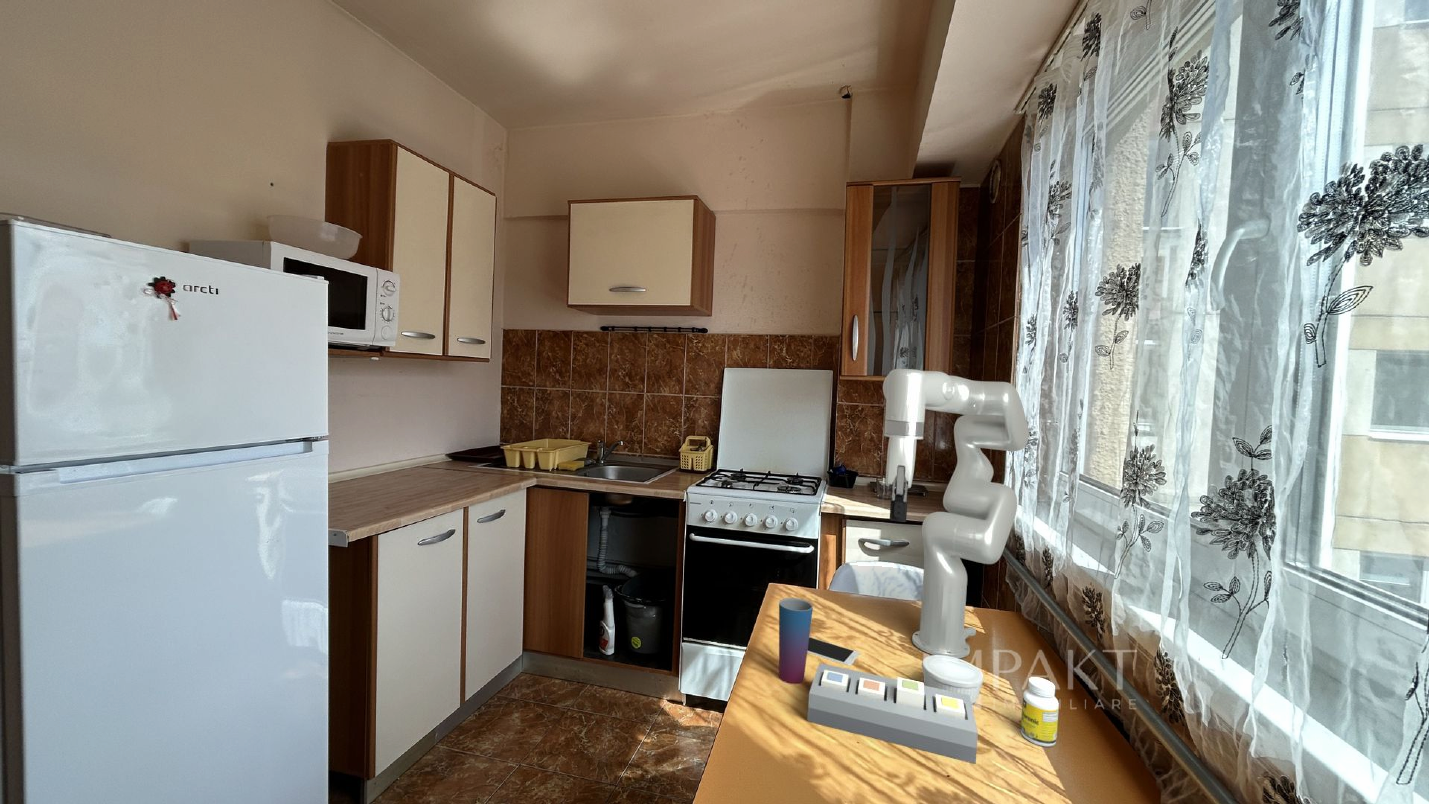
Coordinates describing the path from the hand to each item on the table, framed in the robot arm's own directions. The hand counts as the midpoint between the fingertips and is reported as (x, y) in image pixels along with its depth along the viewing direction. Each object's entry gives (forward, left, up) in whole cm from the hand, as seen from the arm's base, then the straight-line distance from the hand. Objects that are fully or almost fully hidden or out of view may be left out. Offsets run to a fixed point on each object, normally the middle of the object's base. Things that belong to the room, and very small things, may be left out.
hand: (897, 520), depth 112 cm
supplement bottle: (-12, +24, -33) cm, 43 cm away
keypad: (+10, +11, -33) cm, 36 cm away
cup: (+18, -8, -33) cm, 39 cm away
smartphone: (+4, -16, -34) cm, 38 cm away
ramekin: (-9, +8, -33) cm, 35 cm away
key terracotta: (+12, +9, -30) cm, 34 cm away
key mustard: (+3, +18, -30) cm, 35 cm away
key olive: (+8, +13, -29) cm, 33 cm away
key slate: (+17, +4, -30) cm, 35 cm away
